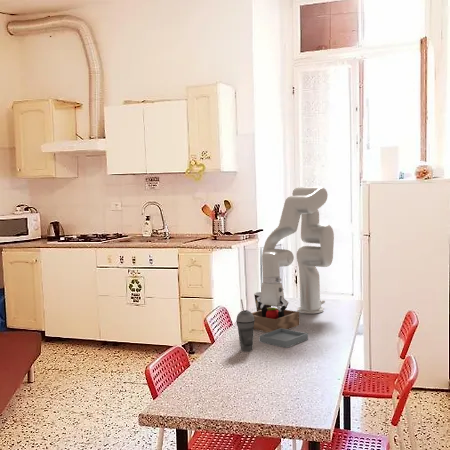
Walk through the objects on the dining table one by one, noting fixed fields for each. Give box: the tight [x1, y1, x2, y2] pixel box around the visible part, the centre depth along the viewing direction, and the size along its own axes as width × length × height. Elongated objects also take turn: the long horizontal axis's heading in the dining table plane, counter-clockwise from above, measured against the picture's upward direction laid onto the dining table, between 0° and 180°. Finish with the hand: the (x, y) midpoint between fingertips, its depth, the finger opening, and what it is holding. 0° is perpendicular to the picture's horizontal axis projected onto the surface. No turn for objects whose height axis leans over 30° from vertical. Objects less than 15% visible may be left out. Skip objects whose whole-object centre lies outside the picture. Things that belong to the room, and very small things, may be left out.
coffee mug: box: [253, 291, 272, 311], centre depth 287 cm, size 12×9×10 cm
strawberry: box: [266, 307, 279, 319], centre depth 262 cm, size 6×8×10 cm
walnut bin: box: [251, 306, 301, 333], centre depth 263 cm, size 17×17×6 cm
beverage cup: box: [235, 298, 255, 353], centre depth 230 cm, size 7×7×20 cm
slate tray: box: [258, 328, 309, 349], centre depth 241 cm, size 14×14×2 cm
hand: (272, 318), depth 262 cm, fingers open, 9 cm apart
